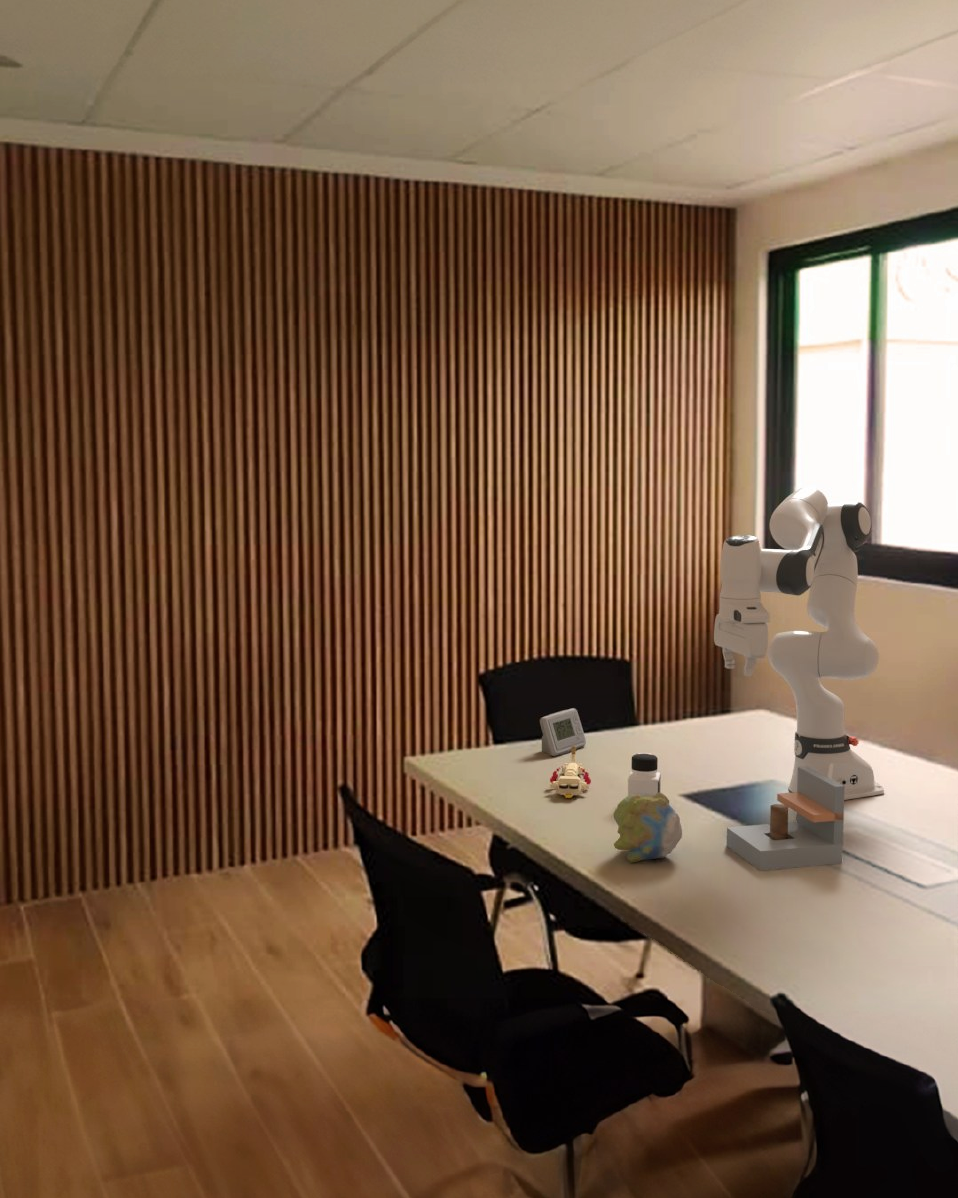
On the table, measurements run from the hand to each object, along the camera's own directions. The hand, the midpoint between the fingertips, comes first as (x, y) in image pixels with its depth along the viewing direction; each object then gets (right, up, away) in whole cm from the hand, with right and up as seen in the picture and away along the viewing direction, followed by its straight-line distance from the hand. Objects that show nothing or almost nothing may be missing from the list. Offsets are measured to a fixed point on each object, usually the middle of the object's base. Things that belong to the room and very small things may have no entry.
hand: (738, 672), depth 283 cm
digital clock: (-34, -26, +70) cm, 82 cm away
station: (+5, -37, -18) cm, 41 cm away
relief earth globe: (-24, -37, -19) cm, 48 cm away
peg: (+4, -37, -18) cm, 41 cm away
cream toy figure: (-35, -31, +34) cm, 58 cm away
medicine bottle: (-19, -32, +18) cm, 42 cm away
